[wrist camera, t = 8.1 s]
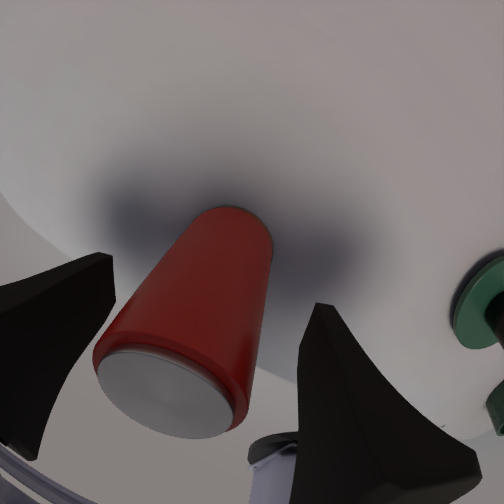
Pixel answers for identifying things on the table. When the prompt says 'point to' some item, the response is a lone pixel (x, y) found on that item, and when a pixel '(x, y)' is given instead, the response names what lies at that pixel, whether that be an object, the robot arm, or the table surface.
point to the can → (192, 330)
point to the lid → (482, 308)
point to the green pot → (497, 409)
